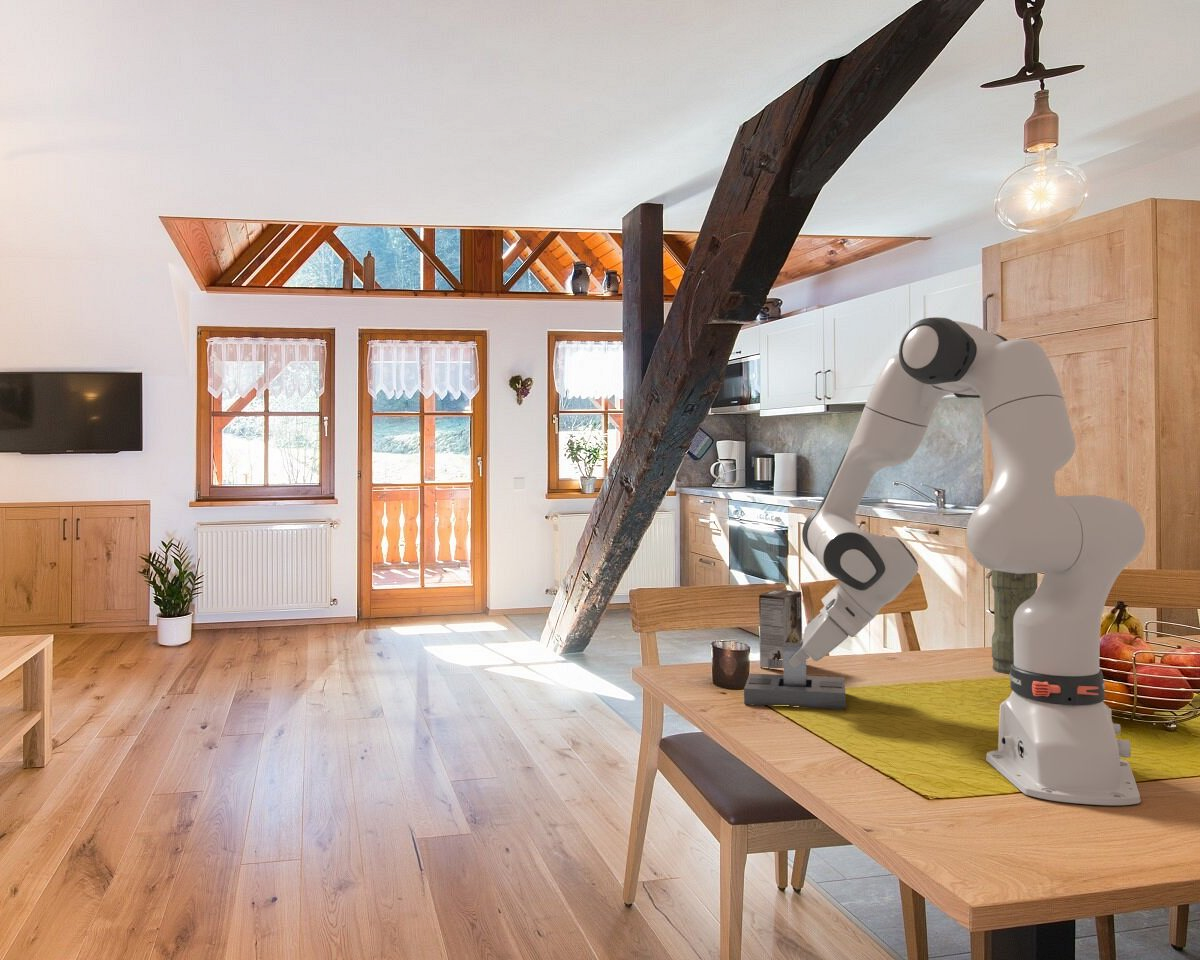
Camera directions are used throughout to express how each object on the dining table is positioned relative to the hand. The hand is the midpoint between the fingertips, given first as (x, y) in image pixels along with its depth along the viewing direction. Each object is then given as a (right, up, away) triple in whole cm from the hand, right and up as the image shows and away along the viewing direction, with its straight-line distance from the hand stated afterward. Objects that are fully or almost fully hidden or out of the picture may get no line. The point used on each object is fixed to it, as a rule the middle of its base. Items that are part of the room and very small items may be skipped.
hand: (791, 661), depth 167 cm
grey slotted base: (+1, -7, 0) cm, 7 cm away
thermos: (+51, -6, +20) cm, 55 cm away
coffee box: (+4, -7, +27) cm, 28 cm away
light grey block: (+1, -6, 0) cm, 6 cm away
